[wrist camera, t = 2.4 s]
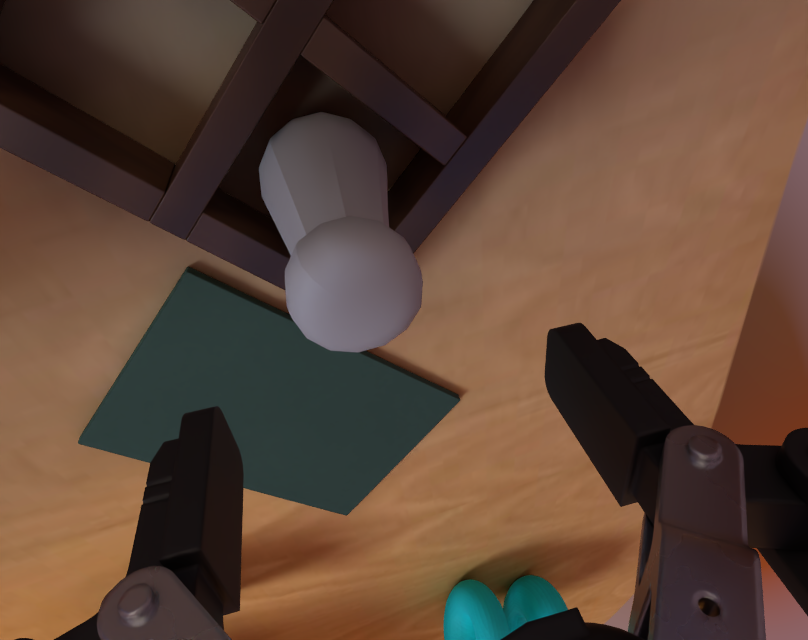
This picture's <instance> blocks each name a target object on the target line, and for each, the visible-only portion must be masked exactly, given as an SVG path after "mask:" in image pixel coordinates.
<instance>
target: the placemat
mask: <svg viewBox="0 0 808 640" xmlns="http://www.w3.org/2000/svg"><path fill="white" fill-rule="evenodd" d="M459 401H460V398H459V395H458V394H456V393H453V392H451V391H449V390H447V389H445V388H443V387H441V386H439V385H437V384H434V383H432V382H430V381H428V380H426V379H424V378H422V377H420V376H418V375H416V374H413V373H411V372H409V371H407V370H405V369H403V368H401V367H399V366H397V365H394V364H392V363H390V362H388V361H386V360H384V359H382V358H380V357H378V356H376V355H373V354H371V353H369V352H367V351H362V352H343V351H330V350H328V349H326V348H324V347H322V346H320V345H319V344H317V343H315V342H313V341H311V340H309V339H307V338H306V337H305V335H304V334H303V333H302V331H301V330H300V329H299V327H298V326H297V325H296V323H295V322H294V321H293V319H292V318H291V315H289V314H287V313H285V312H283V311H281V310H279V309H277V308H275V307H272V306H270V305H268V304H266V303H264V302H262V301H260V300H258V299H256V298H253V297H251V296H249V295H247V294H245V293H243V292H241V291H239V290H237V289H235V288H232V287H230V286H228V285H226V284H224V283H222V282H220V281H218V280H216V279H213V278H211V277H209V276H207V275H205V274H203V273H201V272H199V271H197V270H195V269H192V268H190V267H187V268H186V270H185V271H184V273H183V274H182V276H181V278H180V279H179V281H178V282H177V284H176V286H175V287H174V289H173V290H172V292H171V293H170V295H169V297H168V298H167V300H166V301H165V303H164V305H163V306H162V308H161V309H160V311H159V312H158V314H157V316H156V317H155V319H154V320H153V322H152V324H151V325H150V327H149V328H148V330H147V331H146V333H145V335H144V336H143V338H142V339H141V341H140V343H139V344H138V346H137V347H136V349H135V350H134V352H133V354H132V355H131V357H130V358H129V360H128V361H127V363H126V365H125V366H124V368H123V369H122V371H121V373H120V374H119V376H118V377H117V379H116V380H115V382H114V384H113V385H112V387H111V388H110V390H109V392H108V393H107V395H106V396H105V398H104V399H103V401H102V403H101V404H100V406H99V407H98V409H97V411H96V412H95V414H94V415H93V417H92V418H91V420H90V422H89V423H88V425H87V426H86V428H85V430H84V431H83V433H82V434H81V436H80V438H79V441H78V444H82V445H85V446H89V447H93V448H96V449H100V450H104V451H108V452H111V453H115V454H119V455H123V456H126V457H130V458H134V459H137V460H141V461H145V462H149V463H151V461H152V459H153V458H154V456H155V455H156V453H157V452H158V450H159V449H160V447H161V446H162V444H163V443H164V442H165V441H170V440H174V439H178V438H179V432H180V426H181V420H182V416H183V415H184V414H185V413H189V412H193V411H197V410H202V409H206V408H210V407H215V406H218V407H219V408H220V409H221V410H222V412H223V415H224V417H225V419H226V421H227V423H228V426H229V428H230V430H231V432H232V434H233V437H234V439H235V441H236V443H237V445H238V448H239V450H240V453H241V457H242V462H243V471H244V481H243V488H246V489H249V490H253V491H257V492H261V493H264V494H268V495H272V496H275V497H279V498H283V499H287V500H290V501H294V502H298V503H302V504H305V505H309V506H313V507H316V508H320V509H324V510H328V511H331V512H335V513H339V514H343V515H348V514H349V513H350V512H351V511H352V510H353V509H354V508H355V507H356V506H357V505H358V504H359V503H360V502H361V501H362V500H363V499H364V498H365V497H366V496H367V495H368V494H369V493H370V492H371V491H372V490H373V489H374V488H375V486H376V485H377V484H378V483H379V482H380V481H381V480H382V479H383V478H384V477H385V476H386V475H387V474H388V473H389V472H390V471H391V470H392V469H393V468H394V467H395V466H396V465H397V464H398V463H399V462H400V461H401V460H402V459H403V458H404V457H405V456H406V455H407V454H408V453H409V452H410V451H411V450H412V449H413V448H414V447H415V446H416V445H417V444H418V443H419V442H420V441H421V440H422V439H423V438H424V437H425V436H426V435H427V434H428V433H429V432H430V431H431V430H432V429H433V428H434V427H435V426H436V425H437V424H438V423H439V422H440V421H441V420H442V419H443V417H444V416H445V415H446V414H447V413H448V412H449V411H450V410H451V409H452V408H453V407H454V406H455V405H456V404H457V403H458V402H459Z"/></svg>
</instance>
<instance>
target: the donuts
mask: <svg viewBox="0 0 808 640" xmlns="http://www.w3.org/2000/svg"><path fill="white" fill-rule="evenodd" d="M566 610H568V609H567V606H566V604H565V602H564V601H563V599H562V597H561V596H560V594H559V593H558V591H557V590H556V589H555V588H554V587H553V586H552V585H551V584H550V583H549V582H548V581H546V580H545V579H543V578H541V577H538V576H534V575H526V576H523V577H520V578H519V579H517V580H516V581H515V582H514V583H513V584H512V585H511V587H510V588H509V590H508V592H507V594H506V597H505V601H504V605H503V608H502V606H501V604H500V602H499V600H498V599H497V597H496V596H495V595H494V593H493V592H492V591H491V590H490V589H489V588H488V587H487V586H486V585H485V584H483V583H481V582H479V581H477V580H472V579H469V580H464V581H461V582H459V583H458V584H457V585H456V586H455V587H454V588H453V589H452V591H451V593H450V594H449V596H448V599H447V602H446V606H445V613H444V640H501V639H502V638H504V637H505V636H507V635H508V634H510V633H511V632H513V631H514V630H516V629H517V628H519V627H520V626H522V625H523V624H525V623H526V622H529V621H533V620H536V619H539V618H543V617H546V616H549V615H553V614H556V613H559V612H563V611H566Z"/></svg>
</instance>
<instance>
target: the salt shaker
mask: <svg viewBox="0 0 808 640" xmlns="http://www.w3.org/2000/svg"><path fill="white" fill-rule="evenodd" d="M259 176H260V185H261V194H262V198H263V200H264V202H265V204H266V206H267V208H268V210H269V212H270V214H271V216H272V218H273V220H274V222H275V224H276V227H277V229H278V231H279V233H280V235H281V237H282V239H283V241H284V243H285V245H286V247H287V249H288V251H289V253H290V255H291V257H290V259H289V262H288V264H287V266H286V268H285V289H286V301H287V308H288V311H289V313H290V315H291V318H292V319H293V321H294V322H295V323H296V325H297V326H298V327H299V329H300V330H301V331H302V333H303V334H304V335H305V337H306V338H307V339H309V340H311V341H313V342H315V343H317V344H319V345H320V346H322V347H324V348H326V349H328V350H330V351H343V352H362V351H365V350H369V349H373V348H376V347H380V346H384V345H386V344H387V343H389V342H390V341H391V340H393V339H394V338H395V337H397V336H398V335H399V334H401V333H402V332H404V331H405V330H406V329H407V328H408V327H409V325H410V323H411V322H412V320H413V319H414V317H415V316H416V314H417V312H418V311H419V309H420V308H421V299H422V285H423V281H422V274H421V270H420V267H419V265H418V263H417V261H416V259H415V256H414V254H413V252H412V250H411V248H410V246H409V244H408V243H407V241H406V240H405V239H404V237H402V236H401V235H399V234H398V233H396V232H395V231H393V230H392V229H391V228H389V218H388V194H387V164H386V161H385V159H384V157H383V154H382V152H381V150H380V147H379V145H378V143H377V140H376V138H374V137H373V136H372V135H371V134H369V133H368V132H367V131H365V130H364V129H363V128H362V127H360V126H359V125H358V124H356V123H355V122H354V121H353V120H351V119H349V118H345V117H341V116H337V115H332V114H328V113H324V112H318V113H314V114H310V115H307V116H303V117H299V118H295V119H292V120H291V121H290V122H288V123H287V124H286V125H285V126H284V127H283V128H281V129H280V130H279V131H278V132H277V133H276V134H274V135H273V136H272V137H271V138H270V140H269V143H268V145H267V148H266V150H265V153H264V156H263V158H262V161H261V163H260V166H259Z"/></svg>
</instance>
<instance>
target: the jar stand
mask: <svg viewBox="0 0 808 640" xmlns="http://www.w3.org/2000/svg"><path fill="white" fill-rule="evenodd" d="M5 1H6V0H0V14H1V11H2V9H3V6H4V3H5ZM230 1H232V2H233V3H234V4H235V5H237V6H238V7H239V8H241V9H242V10H243V11H245V12H246V13H247V14H248V15H250V16H251V17H252V18H254V19H255V20H256V21H257V23H256V25H255V27H254V28H253V30H252V32H251V34H250V35H249V37H248V39H247V41H246V42H245V44H244V46H243V48H242V49H241V51H240V53H239V55H238V56H237V58H236V60H235V62H234V63H233V65H232V67H231V69H230V70H229V72H228V74H227V76H226V77H225V79H224V81H223V83H222V84H221V86H220V88H219V90H218V91H217V93H216V95H215V97H214V98H213V100H212V102H211V104H210V106H209V107H208V109H207V111H206V113H205V114H204V116H203V118H202V120H201V121H200V123H199V125H198V127H197V128H196V130H195V132H194V134H193V135H192V137H191V139H190V141H189V142H188V144H187V146H186V148H185V149H184V151H183V153H182V155H181V156H180V158H179V160H178V162H177V163H176V165H175V164H174V163H173V162H171V161H169V160H167V159H166V158H164V157H162V156H160V155H159V154H157V153H155V152H153V151H152V150H150V149H148V148H146V147H145V146H143V145H141V144H139V143H138V142H136V141H134V140H132V139H131V138H129V137H127V136H125V135H124V134H122V133H120V132H118V131H117V130H115V129H113V128H111V127H110V126H108V125H106V124H104V123H103V122H101V121H99V120H97V119H96V118H94V117H92V116H90V115H89V114H87V113H85V112H83V111H82V110H80V109H78V108H76V107H75V106H73V105H71V104H69V103H68V102H66V101H64V100H62V99H61V98H59V97H57V96H55V95H54V94H52V93H50V92H48V91H47V90H45V89H43V88H41V87H39V86H38V85H36V84H34V83H32V82H31V81H29V80H27V79H25V78H24V77H22V76H20V75H18V74H17V73H15V72H13V71H11V70H10V69H8V68H6V67H4V66H3V65H1V64H0V148H2V149H4V150H6V151H8V152H10V153H12V154H14V155H16V156H18V157H20V158H22V159H24V160H26V161H28V162H30V163H32V164H34V165H36V166H38V167H40V168H42V169H44V170H46V171H48V172H50V173H52V174H54V175H56V176H58V177H60V178H62V179H64V180H66V181H68V182H70V183H72V184H74V185H76V186H78V187H80V188H82V189H84V190H86V191H88V192H90V193H92V194H94V195H96V196H98V197H100V198H102V199H104V200H106V201H108V202H110V203H112V204H114V205H116V206H118V207H120V208H122V209H124V210H126V211H128V212H130V213H132V214H134V215H136V216H138V217H140V218H142V219H144V220H146V221H150V223H152V224H154V225H156V226H158V227H160V228H162V229H164V230H166V231H168V232H170V233H172V234H174V235H176V236H178V237H180V238H182V239H184V240H186V241H188V242H190V243H192V244H194V245H196V246H198V247H200V248H202V249H204V250H206V251H208V252H210V253H212V254H214V255H216V256H218V257H220V258H222V259H224V260H226V261H228V262H230V263H232V264H234V265H236V266H238V267H240V268H242V269H244V270H246V271H248V272H250V273H252V274H254V275H256V276H258V277H260V278H262V279H264V280H266V281H268V282H270V283H272V284H274V285H276V286H278V287H280V288H282V289H284V290H286V289H285V268H286V266H287V264H288V262H289V259H290V257H291V255H290V253H289V251H288V249H287V247H286V245H285V243H284V241H283V239H282V237H281V235H280V233H279V231H278V229H277V227H276V224H275V222H274V220H273V219H271V218H269V217H268V216H266V215H264V214H262V213H261V212H259V211H257V210H255V209H254V208H252V207H250V206H248V205H247V204H245V203H243V202H241V201H240V200H238V199H236V198H234V197H233V196H231V195H229V194H227V193H226V192H224V191H222V190H220V189H219V188H218V187H219V185H220V184H221V182H222V180H223V179H224V177H225V175H226V174H227V172H228V171H229V169H230V167H231V166H232V164H233V162H234V161H235V159H236V158H237V156H238V154H239V153H240V151H241V149H242V148H243V146H244V145H245V143H246V141H247V140H248V138H249V136H250V135H251V133H252V132H253V130H254V128H255V127H256V125H257V123H258V122H259V120H260V119H261V117H262V115H263V114H264V112H265V110H266V109H267V107H268V106H269V104H270V102H271V101H272V99H273V97H274V96H275V94H276V93H277V91H278V89H279V88H280V86H281V85H282V83H283V81H284V80H285V78H286V76H287V75H288V73H289V72H290V70H291V68H292V67H293V65H294V63H295V62H296V60H297V59H298V57H299V55H300V54H301V55H302V56H303V57H304V58H305V59H306V60H308V61H309V62H310V63H312V64H313V65H314V66H316V67H317V68H318V69H319V70H321V71H322V72H323V73H325V74H326V75H327V76H328V77H330V78H331V79H332V80H334V81H335V82H336V83H337V84H339V85H340V86H341V87H343V88H344V89H345V90H347V91H348V92H349V93H350V94H352V95H353V96H354V97H356V98H357V99H358V100H359V101H361V102H362V103H363V104H365V105H366V106H367V107H368V108H370V109H371V110H372V111H374V112H375V113H376V114H378V115H379V116H380V117H381V118H383V119H384V120H385V121H387V122H388V123H389V124H390V125H392V126H393V127H394V128H396V129H397V130H398V131H399V132H401V133H402V134H403V135H405V136H406V137H407V138H409V139H410V140H411V141H412V142H414V143H415V144H416V145H418V146H419V147H420V148H421V150H420V151H419V153H418V154H417V155H416V157H415V158H414V159H413V161H412V162H411V163H410V165H409V166H408V167H407V169H406V170H405V171H404V172H403V174H402V175H401V176H400V178H399V179H398V180H397V182H396V183H395V184H394V186H393V187H392V188H391V190H390V191H389V192H388V218H389V228H391V229H392V230H393V231H395V232H396V233H398V234H399V235H401V236H402V237H404V239H405V240H406V241H407V243H408V244H409V246H410V248H411V250H412V252H413V253H414V252H415V251H416V250H417V248H418V247H419V246H420V245H421V244H422V242H423V241H424V240H425V239H426V237H427V236H428V235H429V234H430V233H431V231H432V230H433V229H434V228H435V227H436V225H437V224H438V223H439V222H440V220H441V219H442V218H443V217H444V216H445V214H446V213H447V212H448V211H449V209H450V208H451V207H452V206H453V205H454V203H455V202H456V201H457V200H458V198H459V197H460V196H461V195H462V194H463V192H464V191H465V190H466V189H467V187H468V186H469V185H470V184H471V183H472V181H473V180H474V179H475V178H476V177H477V175H478V174H479V173H480V172H481V170H482V169H483V168H484V167H485V166H486V164H487V163H488V162H489V161H490V159H491V158H492V157H493V156H494V155H495V153H496V152H497V151H498V150H499V148H500V147H501V146H502V145H503V144H504V142H505V141H506V140H507V139H508V137H509V136H510V135H511V134H512V133H513V131H514V130H515V129H516V128H517V127H518V125H519V124H520V123H521V122H522V120H523V119H524V118H525V117H526V116H527V114H528V113H529V112H530V111H531V109H532V108H533V107H534V106H535V105H536V103H537V102H538V101H539V100H540V98H541V97H542V96H543V95H544V94H545V92H546V91H547V90H548V89H549V87H550V86H551V85H552V84H553V83H554V81H555V80H556V79H557V78H558V76H559V75H560V74H561V73H562V72H563V70H564V69H565V68H566V67H567V66H568V64H569V63H570V62H571V61H572V59H573V58H574V57H575V56H576V55H577V53H578V52H579V51H580V50H581V48H582V47H583V46H584V45H585V44H586V42H587V41H588V40H589V39H590V37H591V36H592V35H593V34H594V33H595V31H596V30H597V29H598V28H599V26H600V25H601V24H602V23H603V22H604V20H605V19H606V18H607V17H608V16H609V14H610V13H611V12H612V11H613V9H614V8H615V7H616V6H617V5H618V3H619V2H620V1H621V0H534V1H533V2H532V4H531V5H530V6H529V8H528V9H527V10H526V12H525V13H524V14H523V16H522V17H521V18H520V19H519V21H518V22H517V23H516V25H515V26H514V27H513V29H512V30H511V31H510V33H509V34H508V35H507V37H506V38H505V39H504V41H503V42H502V43H501V45H500V46H499V47H498V48H497V50H496V51H495V52H494V54H493V55H492V56H491V58H490V59H489V60H488V62H487V63H486V64H485V66H484V67H483V68H482V70H481V71H480V72H479V74H478V75H477V76H476V78H475V79H474V80H473V81H472V83H471V84H470V85H469V87H468V88H467V89H466V91H465V92H464V93H463V95H462V96H461V97H460V99H459V100H458V101H457V103H456V104H455V105H454V107H453V108H452V109H451V110H450V112H449V113H448V114H447V116H445V115H443V114H442V113H441V112H440V111H439V110H437V109H436V108H435V107H434V106H433V105H432V104H430V103H429V102H428V101H427V100H426V99H424V98H423V97H422V96H421V95H420V94H418V93H417V92H416V91H415V90H414V89H413V88H411V87H410V86H409V85H408V84H407V83H405V82H404V81H403V80H402V79H401V78H399V77H398V76H397V75H396V74H395V73H394V72H392V71H391V70H390V69H389V68H388V67H386V66H385V65H384V64H383V63H382V62H381V61H379V60H378V59H377V58H376V57H375V56H373V55H372V54H371V53H370V52H369V51H367V50H366V49H365V48H364V47H363V46H362V45H360V44H359V43H358V42H357V41H356V40H354V39H353V38H352V37H351V36H350V35H348V34H347V33H346V32H345V31H344V30H343V29H341V28H340V27H339V26H338V25H337V24H335V23H334V22H333V21H332V20H331V19H329V18H328V17H327V16H326V15H325V13H326V11H327V10H328V8H329V7H330V5H331V3H332V2H333V0H230Z"/></svg>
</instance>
